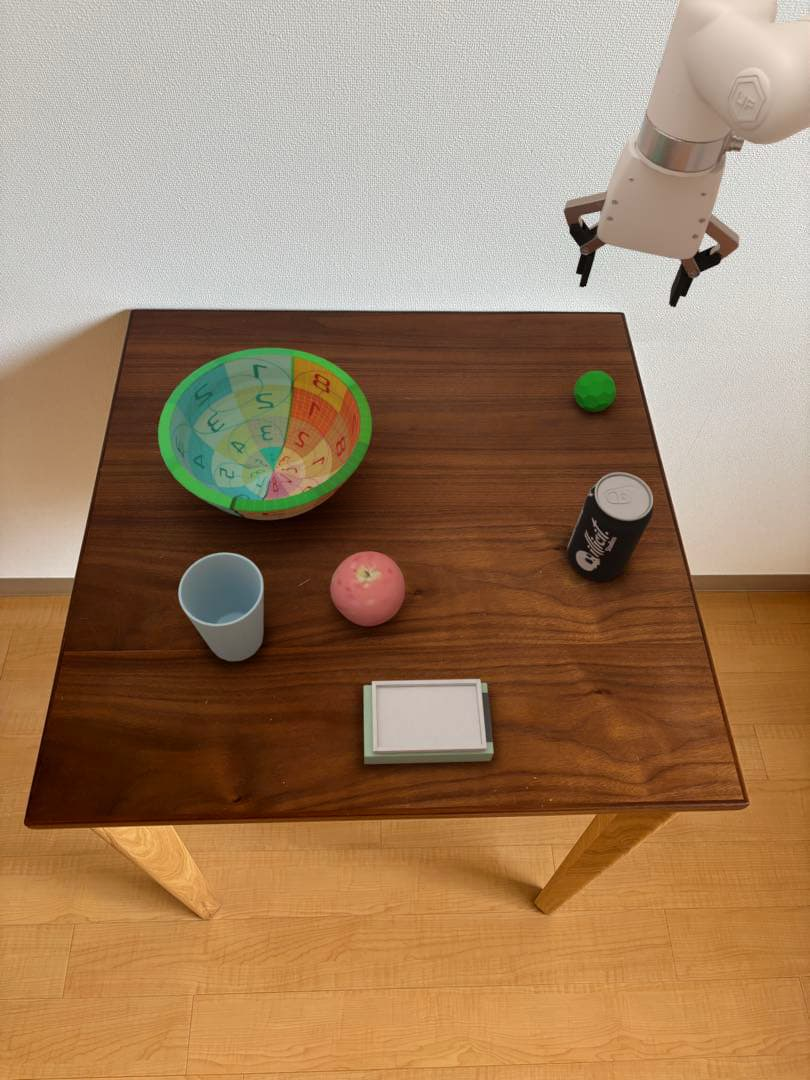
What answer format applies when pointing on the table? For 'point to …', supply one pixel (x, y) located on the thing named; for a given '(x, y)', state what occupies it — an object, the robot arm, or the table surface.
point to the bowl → (265, 432)
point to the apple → (368, 588)
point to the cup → (225, 604)
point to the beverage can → (610, 526)
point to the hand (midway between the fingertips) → (628, 288)
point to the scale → (427, 721)
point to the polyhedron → (595, 391)
